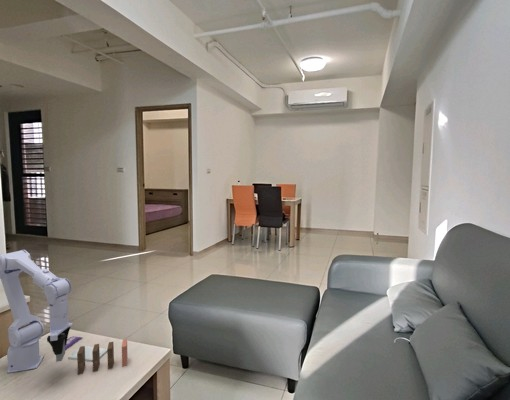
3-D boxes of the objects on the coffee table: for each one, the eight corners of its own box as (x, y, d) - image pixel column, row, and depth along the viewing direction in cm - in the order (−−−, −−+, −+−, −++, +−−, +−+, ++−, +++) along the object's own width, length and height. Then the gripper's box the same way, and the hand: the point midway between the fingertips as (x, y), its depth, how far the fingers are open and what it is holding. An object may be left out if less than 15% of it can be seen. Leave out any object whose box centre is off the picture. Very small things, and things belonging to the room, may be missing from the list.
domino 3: (93, 371, 114) (92, 351, 113) (95, 364, 119) (94, 344, 118) (97, 371, 114) (97, 350, 114) (99, 363, 119) (99, 343, 118)
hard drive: (67, 356, 121) (96, 359, 120) (82, 345, 130) (109, 347, 128) (68, 360, 122) (96, 363, 120) (82, 348, 130) (109, 351, 128)
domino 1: (56, 361, 108) (55, 340, 108) (60, 353, 113) (59, 333, 112) (61, 361, 109) (60, 339, 108) (65, 353, 114) (64, 332, 113)
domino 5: (122, 366, 117) (121, 346, 117) (123, 359, 122) (122, 340, 121) (126, 365, 118) (126, 346, 117) (127, 358, 122) (127, 339, 122)
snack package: (72, 334, 138) (82, 335, 137) (72, 338, 138) (83, 339, 137) (52, 348, 126) (63, 349, 126) (52, 352, 126) (63, 354, 126)
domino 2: (77, 374, 112) (77, 353, 112) (80, 366, 117) (80, 346, 116) (82, 373, 113) (82, 353, 112) (85, 365, 118) (84, 345, 117)
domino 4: (107, 369, 116) (107, 349, 115) (109, 361, 120) (108, 342, 120) (112, 368, 116) (111, 348, 115) (113, 360, 121) (113, 341, 120)
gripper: (66, 321, 104) (67, 359, 105) (76, 304, 118) (77, 337, 119) (42, 324, 102) (44, 362, 103) (55, 306, 116) (56, 340, 117)
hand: (60, 349), depth 111 cm, fingers closed on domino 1, 5 cm apart
